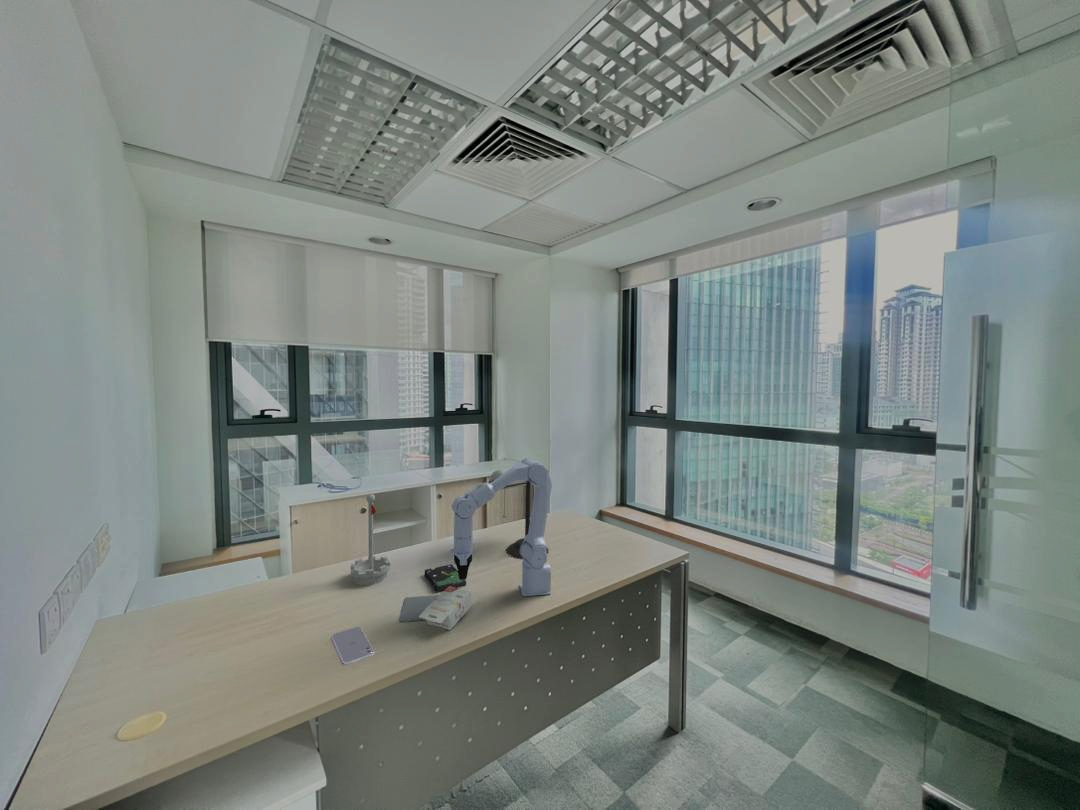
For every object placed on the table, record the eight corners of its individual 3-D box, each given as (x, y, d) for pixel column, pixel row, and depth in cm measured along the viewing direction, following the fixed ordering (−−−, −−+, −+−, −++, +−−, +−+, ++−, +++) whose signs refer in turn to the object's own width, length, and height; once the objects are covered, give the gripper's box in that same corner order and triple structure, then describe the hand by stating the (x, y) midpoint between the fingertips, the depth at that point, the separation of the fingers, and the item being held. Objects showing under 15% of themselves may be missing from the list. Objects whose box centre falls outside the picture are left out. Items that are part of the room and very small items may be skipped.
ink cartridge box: (451, 599, 133) (419, 631, 120) (449, 585, 132) (416, 615, 119) (474, 605, 129) (443, 638, 116) (472, 590, 128) (441, 622, 115)
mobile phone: (360, 624, 120) (375, 652, 108) (360, 628, 120) (375, 655, 108) (330, 633, 116) (343, 663, 104) (330, 637, 116) (343, 667, 104)
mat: (456, 594, 140) (456, 593, 140) (456, 617, 126) (456, 616, 126) (405, 598, 137) (405, 597, 136) (399, 622, 123) (399, 621, 123)
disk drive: (423, 577, 153) (437, 594, 141) (423, 569, 153) (437, 586, 140) (451, 571, 159) (466, 586, 146) (451, 563, 158) (466, 578, 146)
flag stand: (345, 576, 151) (345, 493, 150) (382, 566, 160) (382, 487, 158) (357, 590, 141) (357, 501, 140) (396, 579, 150) (396, 495, 149)
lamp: (527, 533, 198) (528, 461, 196) (564, 548, 180) (566, 469, 178) (479, 547, 180) (480, 468, 178) (516, 566, 162) (517, 478, 161)
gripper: (450, 528, 138) (450, 569, 139) (449, 544, 124) (449, 590, 125) (472, 527, 140) (471, 567, 140) (474, 543, 126) (473, 588, 126)
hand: (462, 578), depth 133 cm, fingers closed
